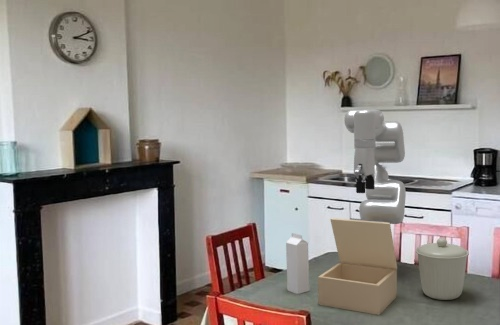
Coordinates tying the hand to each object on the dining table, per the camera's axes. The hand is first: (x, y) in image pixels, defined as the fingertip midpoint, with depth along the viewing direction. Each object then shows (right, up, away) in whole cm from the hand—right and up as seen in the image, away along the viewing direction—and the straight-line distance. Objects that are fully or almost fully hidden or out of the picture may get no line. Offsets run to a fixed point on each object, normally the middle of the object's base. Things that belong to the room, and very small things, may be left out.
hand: (365, 191), depth 201 cm
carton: (-3, -39, -4) cm, 39 cm away
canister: (+27, -38, -2) cm, 47 cm away
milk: (-24, -39, +9) cm, 46 cm away
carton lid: (-1, -19, -1) cm, 19 cm away
